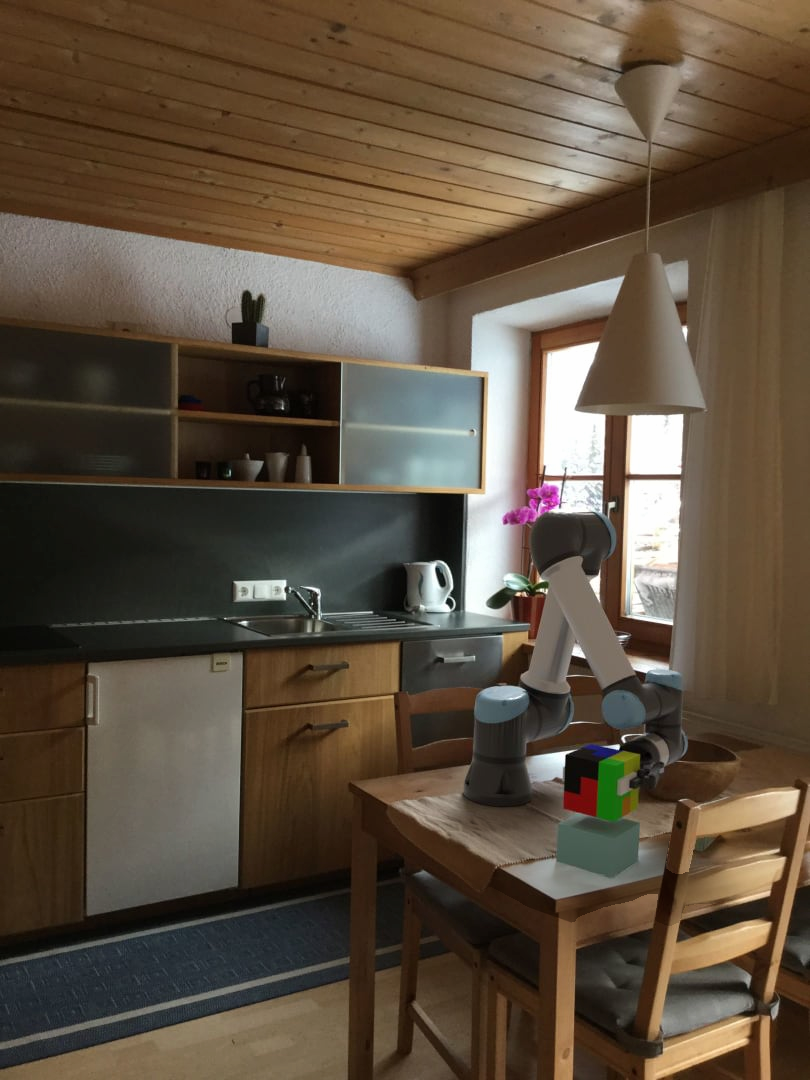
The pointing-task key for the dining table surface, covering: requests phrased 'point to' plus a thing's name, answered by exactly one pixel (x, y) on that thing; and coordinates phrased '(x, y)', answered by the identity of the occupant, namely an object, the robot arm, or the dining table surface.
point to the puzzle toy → (599, 782)
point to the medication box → (703, 843)
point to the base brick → (598, 844)
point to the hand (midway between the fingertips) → (591, 781)
